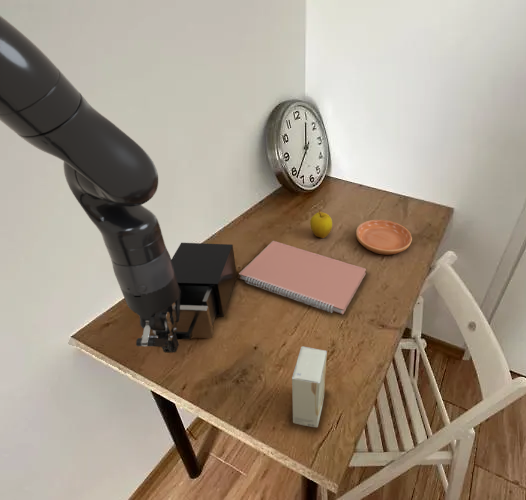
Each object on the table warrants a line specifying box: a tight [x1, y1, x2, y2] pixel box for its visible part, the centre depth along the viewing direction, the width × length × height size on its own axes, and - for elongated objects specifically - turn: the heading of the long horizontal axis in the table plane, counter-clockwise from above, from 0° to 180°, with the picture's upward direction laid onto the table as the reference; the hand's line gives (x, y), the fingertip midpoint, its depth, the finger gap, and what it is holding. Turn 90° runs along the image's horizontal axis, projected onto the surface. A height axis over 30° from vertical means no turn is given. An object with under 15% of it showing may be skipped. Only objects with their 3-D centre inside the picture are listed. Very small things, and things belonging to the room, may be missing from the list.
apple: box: [309, 209, 333, 239], centre depth 101 cm, size 6×6×8 cm
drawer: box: [175, 285, 218, 341], centre depth 71 cm, size 17×10×8 cm, turn 1°
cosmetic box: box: [291, 346, 328, 428], centre depth 57 cm, size 6×4×12 cm
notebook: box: [238, 240, 367, 315], centre depth 87 cm, size 27×17×2 cm, turn 67°
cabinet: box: [171, 242, 238, 318], centre depth 78 cm, size 14×12×10 cm
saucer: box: [355, 219, 413, 256], centre depth 102 cm, size 16×16×3 cm
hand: (171, 349), depth 63 cm, fingers closed
